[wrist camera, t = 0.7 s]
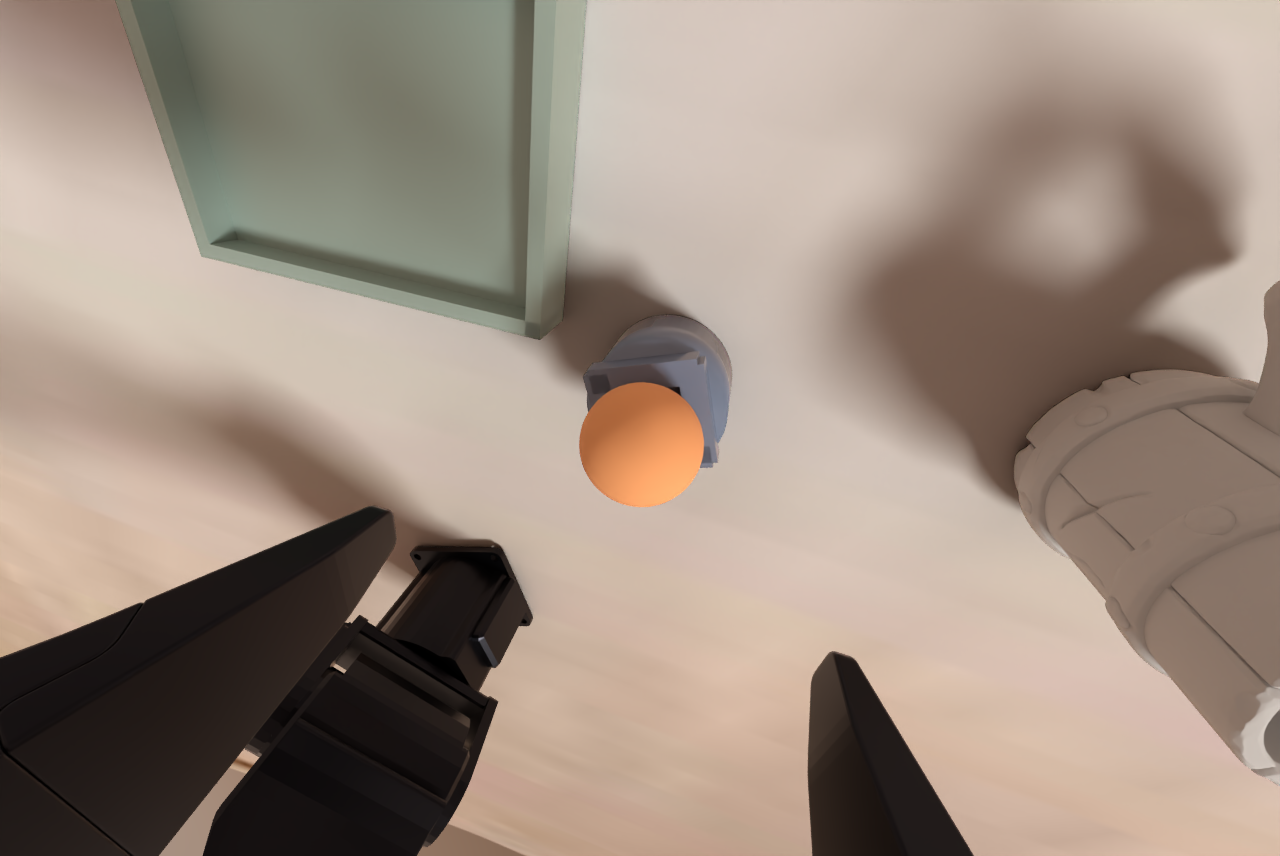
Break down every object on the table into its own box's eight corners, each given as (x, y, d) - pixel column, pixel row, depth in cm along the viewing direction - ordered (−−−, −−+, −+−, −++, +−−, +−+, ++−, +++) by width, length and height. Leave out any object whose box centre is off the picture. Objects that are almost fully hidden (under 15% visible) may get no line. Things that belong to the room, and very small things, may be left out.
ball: (613, 463, 18) (580, 533, 15) (588, 369, 16) (544, 425, 13) (715, 458, 17) (705, 534, 14) (701, 356, 15) (684, 415, 12)
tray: (255, 246, 21) (201, 256, 19) (163, -91, 15) (72, -127, 13) (562, 320, 19) (539, 339, 17) (588, -21, 14) (558, -51, 12)
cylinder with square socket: (624, 431, 22) (599, 482, 18) (597, 323, 19) (564, 359, 16) (738, 424, 20) (733, 478, 17) (724, 306, 18) (716, 341, 14)
